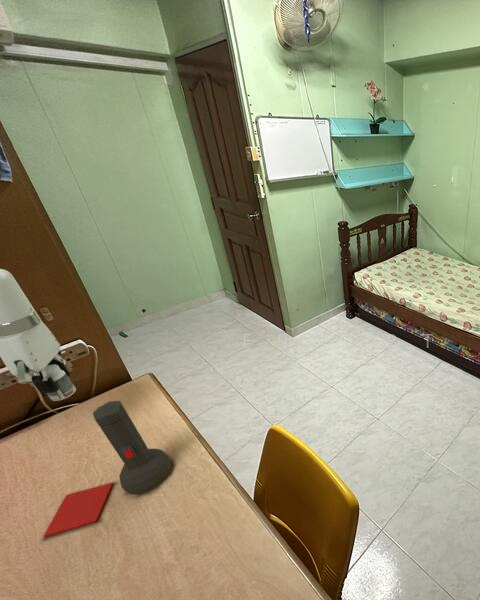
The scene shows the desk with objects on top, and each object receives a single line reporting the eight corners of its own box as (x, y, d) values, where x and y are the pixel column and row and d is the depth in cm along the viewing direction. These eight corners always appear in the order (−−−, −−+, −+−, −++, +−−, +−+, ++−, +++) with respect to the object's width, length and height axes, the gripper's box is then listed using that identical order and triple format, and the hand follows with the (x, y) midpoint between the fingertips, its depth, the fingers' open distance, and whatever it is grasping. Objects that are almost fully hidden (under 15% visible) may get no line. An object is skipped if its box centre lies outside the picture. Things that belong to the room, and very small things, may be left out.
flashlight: (126, 469, 80) (121, 504, 72) (79, 399, 68) (68, 433, 60) (172, 451, 84) (172, 481, 77) (136, 382, 72) (132, 411, 65)
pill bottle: (75, 385, 83) (59, 360, 79) (77, 394, 80) (60, 369, 76) (50, 394, 80) (32, 369, 76) (51, 404, 77) (32, 379, 73)
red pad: (44, 537, 66) (43, 536, 66) (67, 496, 74) (66, 494, 73) (96, 522, 69) (95, 520, 69) (113, 483, 77) (112, 482, 76)
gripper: (16, 308, 75) (55, 366, 84) (-39, 349, 61) (15, 413, 70) (56, 303, 78) (90, 360, 86) (12, 341, 64) (57, 404, 73)
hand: (56, 383), depth 78 cm, fingers closed on pill bottle, 4 cm apart
